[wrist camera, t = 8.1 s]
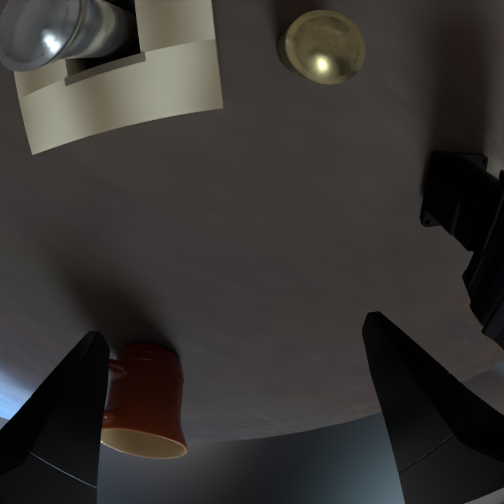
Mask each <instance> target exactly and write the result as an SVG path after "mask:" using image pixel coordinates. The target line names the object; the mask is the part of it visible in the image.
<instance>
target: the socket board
mask: <svg viewBox="0 0 504 504" xmlns="http://www.w3.org/2000/svg"><path fill="white" fill-rule="evenodd" d="M104 1H106V2H109V3H110V2H113V1H116V0H104ZM135 9H136V18H137V27H138V35H139V43H140V50H141V53H140V54H136V55H132V56H129V57H125V58H122V59H118V60H115V61H112V62H108V63H105V64H102V65H99V66H96V67H93V68H90V69H88V70H86V67H85V60H84V58H73V59H60V60H57V61H56V62H54V63H53V64H51V65H49V66H47V67H44V68H41V69H37V70H31V71H25V72H16V71H14V74H15V80H16V86H17V92H18V97H19V102H20V107H21V112H22V116H23V120H24V124H25V129H26V133H27V136H28V140H29V144H30V147H31V151H32V154H33V155H34V154H37V153H40V152H42V151H45V150H48V149H51V148H53V147H56V146H59V145H62V144H65V143H68V142H71V141H74V140H78V139H81V138H84V137H87V136H91V135H94V134H98V133H101V132H105V131H109V130H112V129H116V128H120V127H124V126H128V125H132V124H137V123H141V122H145V121H150V120H155V119H160V118H165V117H170V116H175V115H181V114H186V113H192V112H199V111H205V110H212V109H219V108H223V106H224V100H223V92H222V84H221V75H220V67H219V58H218V49H217V41H216V32H215V23H214V14H213V5H212V0H135Z"/></svg>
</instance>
